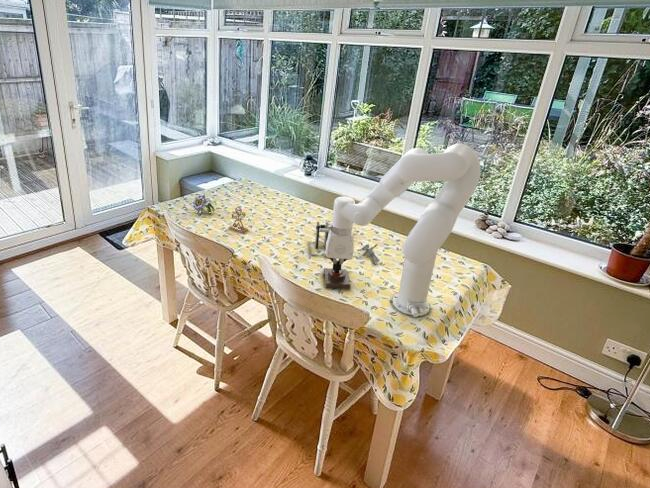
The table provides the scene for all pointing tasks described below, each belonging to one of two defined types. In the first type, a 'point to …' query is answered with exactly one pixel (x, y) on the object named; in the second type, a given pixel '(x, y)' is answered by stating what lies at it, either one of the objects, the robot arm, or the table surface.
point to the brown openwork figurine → (239, 221)
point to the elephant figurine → (370, 253)
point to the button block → (336, 279)
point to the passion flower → (202, 204)
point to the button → (337, 273)
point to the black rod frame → (318, 235)
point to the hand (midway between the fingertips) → (336, 271)
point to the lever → (323, 228)
